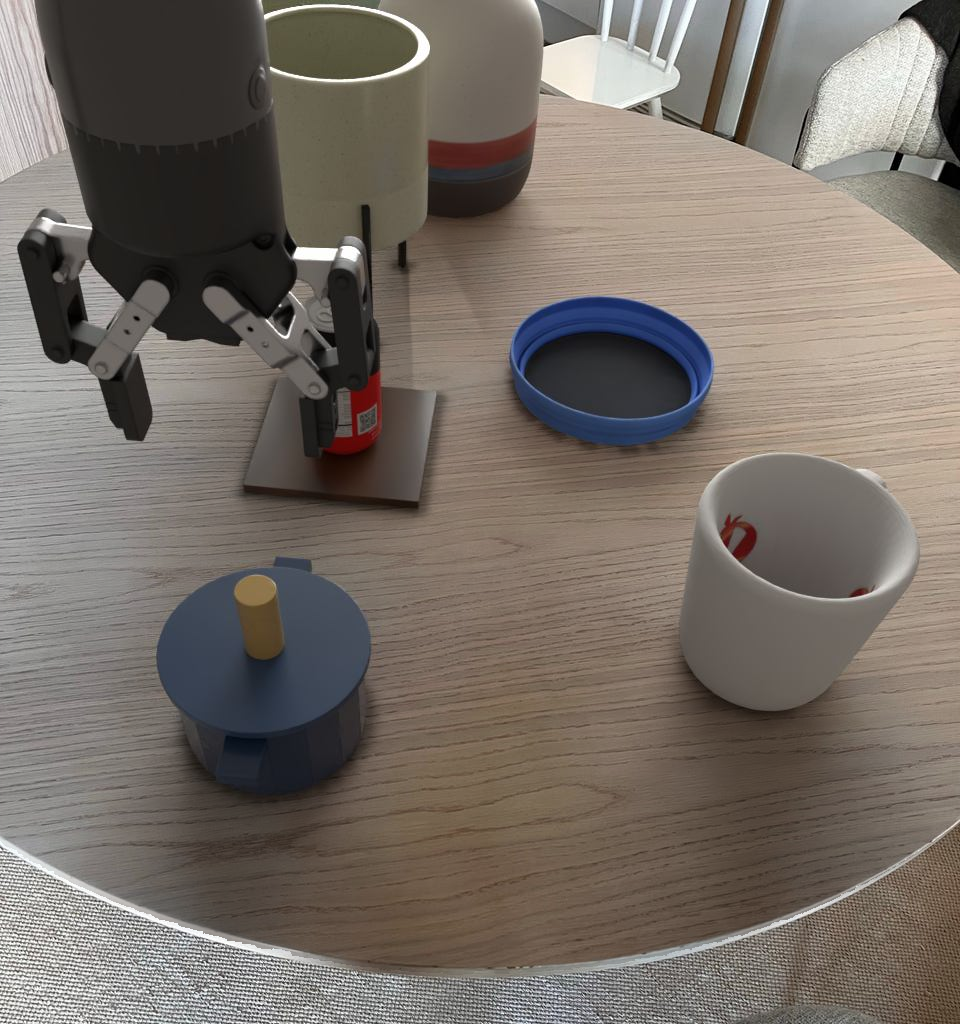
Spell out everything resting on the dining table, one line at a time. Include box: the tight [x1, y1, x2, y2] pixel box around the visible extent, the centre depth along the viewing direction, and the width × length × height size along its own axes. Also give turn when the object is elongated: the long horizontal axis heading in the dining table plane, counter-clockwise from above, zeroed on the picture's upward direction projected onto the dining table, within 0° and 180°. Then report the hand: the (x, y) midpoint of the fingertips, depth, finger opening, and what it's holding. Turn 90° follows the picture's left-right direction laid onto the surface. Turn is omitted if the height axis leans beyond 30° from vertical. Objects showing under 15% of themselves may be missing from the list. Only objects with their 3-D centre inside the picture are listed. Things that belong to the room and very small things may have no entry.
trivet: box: [242, 375, 438, 510], centre depth 85 cm, size 14×14×1 cm
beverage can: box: [302, 294, 382, 455], centre depth 80 cm, size 6×6×12 cm
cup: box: [678, 451, 921, 712], centre depth 69 cm, size 18×14×14 cm
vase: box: [376, 0, 545, 220], centre depth 103 cm, size 17×17×24 cm
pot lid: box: [155, 566, 372, 739], centre depth 60 cm, size 13×13×6 cm
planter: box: [264, 4, 430, 316], centre depth 89 cm, size 15×16×23 cm
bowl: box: [508, 295, 715, 446], centre depth 91 cm, size 18×18×4 cm
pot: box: [178, 555, 367, 795], centre depth 65 cm, size 12×17×7 cm
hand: (228, 438), depth 49 cm, fingers open, 8 cm apart
